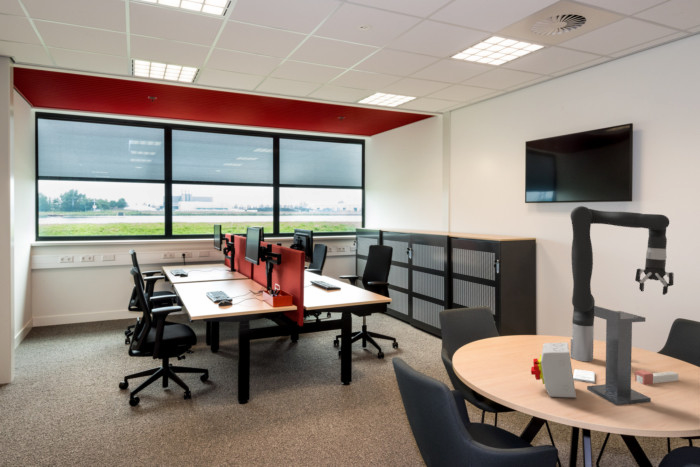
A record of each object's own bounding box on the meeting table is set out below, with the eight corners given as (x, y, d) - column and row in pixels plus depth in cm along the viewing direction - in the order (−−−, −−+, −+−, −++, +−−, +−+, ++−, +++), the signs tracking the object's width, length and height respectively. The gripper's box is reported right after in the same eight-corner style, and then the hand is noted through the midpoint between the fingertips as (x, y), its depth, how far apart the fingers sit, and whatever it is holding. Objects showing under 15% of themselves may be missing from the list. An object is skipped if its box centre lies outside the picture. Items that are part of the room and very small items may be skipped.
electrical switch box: (536, 386, 184) (528, 340, 185) (574, 387, 178) (567, 339, 178) (534, 400, 171) (526, 349, 172) (576, 401, 165) (568, 349, 165)
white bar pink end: (670, 377, 188) (670, 367, 188) (679, 381, 184) (680, 371, 184) (635, 381, 185) (635, 370, 184) (644, 384, 180) (644, 374, 180)
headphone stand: (619, 386, 178) (620, 303, 177) (650, 402, 164) (652, 311, 162) (587, 389, 176) (588, 305, 174) (616, 405, 161) (617, 313, 159)
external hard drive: (594, 375, 193) (594, 384, 182) (574, 372, 197) (572, 381, 186) (595, 371, 193) (594, 381, 182) (574, 368, 197) (573, 377, 186)
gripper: (635, 256, 201) (632, 291, 202) (672, 260, 190) (669, 296, 191) (640, 255, 206) (637, 289, 207) (677, 259, 195) (673, 294, 196)
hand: (653, 292), depth 199 cm, fingers open, 8 cm apart
